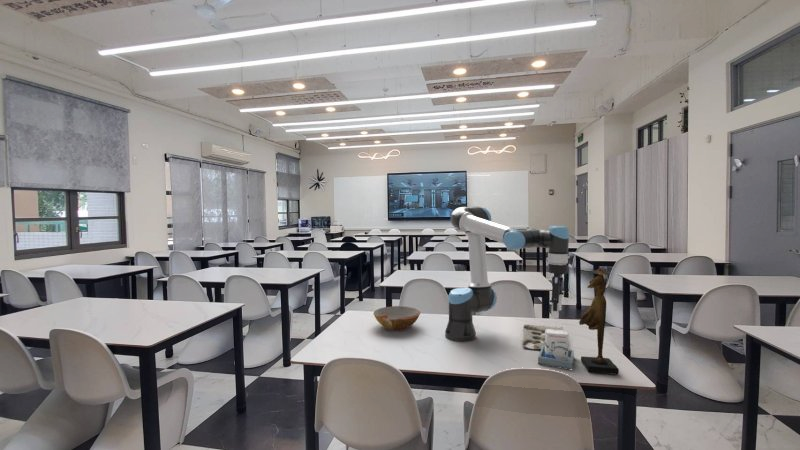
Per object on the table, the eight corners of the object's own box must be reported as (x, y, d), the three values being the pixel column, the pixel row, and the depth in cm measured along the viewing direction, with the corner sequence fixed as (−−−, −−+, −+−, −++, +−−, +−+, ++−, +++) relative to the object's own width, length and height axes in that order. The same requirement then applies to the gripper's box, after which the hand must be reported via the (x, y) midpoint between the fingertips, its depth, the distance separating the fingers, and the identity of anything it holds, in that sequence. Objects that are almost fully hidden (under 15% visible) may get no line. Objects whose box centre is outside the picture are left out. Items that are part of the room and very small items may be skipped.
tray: (538, 363, 151) (538, 356, 151) (542, 352, 163) (542, 345, 163) (571, 370, 145) (572, 362, 145) (573, 357, 157) (573, 350, 157)
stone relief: (522, 350, 167) (570, 354, 160) (521, 344, 167) (570, 348, 160) (523, 328, 197) (564, 331, 191) (523, 323, 197) (563, 326, 191)
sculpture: (583, 373, 142) (585, 270, 140) (575, 361, 153) (576, 266, 151) (619, 375, 140) (622, 271, 138) (608, 363, 151) (610, 266, 149)
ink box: (545, 360, 153) (546, 332, 152) (544, 355, 158) (544, 328, 157) (568, 362, 151) (568, 334, 150) (565, 357, 155) (566, 330, 155)
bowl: (367, 333, 189) (367, 317, 188) (380, 318, 213) (380, 305, 213) (415, 336, 183) (415, 321, 183) (423, 321, 208) (423, 307, 207)
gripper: (565, 269, 139) (564, 324, 141) (569, 260, 161) (568, 307, 163) (544, 267, 143) (543, 321, 144) (551, 258, 165) (550, 305, 166)
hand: (556, 314), depth 153 cm, fingers open, 13 cm apart
